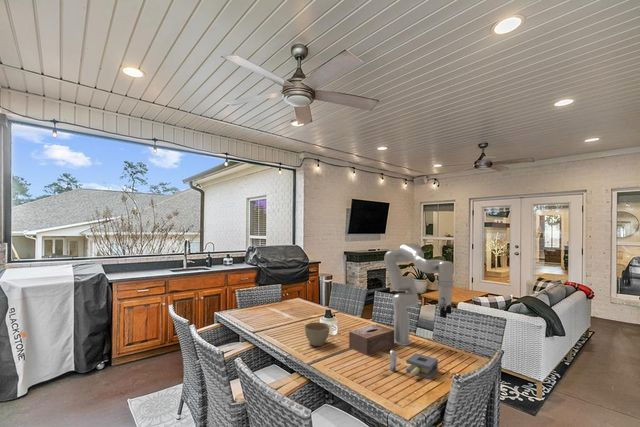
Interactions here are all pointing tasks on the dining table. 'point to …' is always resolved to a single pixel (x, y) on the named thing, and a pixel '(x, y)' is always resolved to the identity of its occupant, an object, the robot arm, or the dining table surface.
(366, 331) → the tissue box cover
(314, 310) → the dining table surface
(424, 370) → the clevis bracket
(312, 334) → the planter bowl
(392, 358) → the steel pin
